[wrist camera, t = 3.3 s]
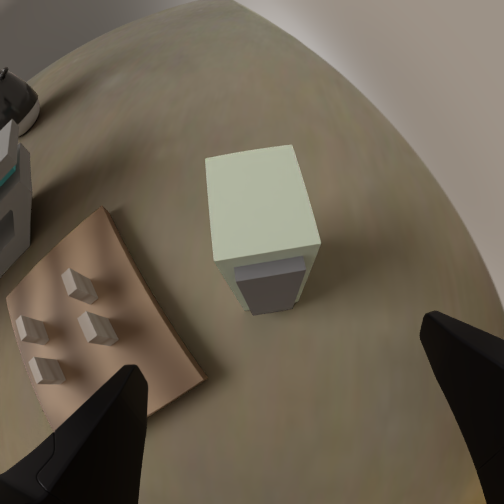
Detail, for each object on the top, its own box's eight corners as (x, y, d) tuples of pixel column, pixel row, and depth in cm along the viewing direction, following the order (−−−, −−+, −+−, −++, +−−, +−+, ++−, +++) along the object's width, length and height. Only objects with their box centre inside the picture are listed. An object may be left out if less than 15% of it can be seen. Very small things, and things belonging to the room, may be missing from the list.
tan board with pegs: (109, 213, 25) (85, 188, 21) (208, 378, 19) (190, 383, 15) (14, 301, 22) (-13, 290, 18) (78, 455, 16) (48, 464, 12)
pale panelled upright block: (245, 318, 20) (215, 276, 10) (235, 249, 22) (205, 158, 12) (299, 309, 20) (324, 258, 10) (285, 240, 22) (291, 144, 12)
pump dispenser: (29, 140, 33) (-16, 84, 19) (2, 150, 34) (-38, 104, 20) (55, 101, 36) (21, 46, 22) (27, 112, 38) (-6, 67, 24)
